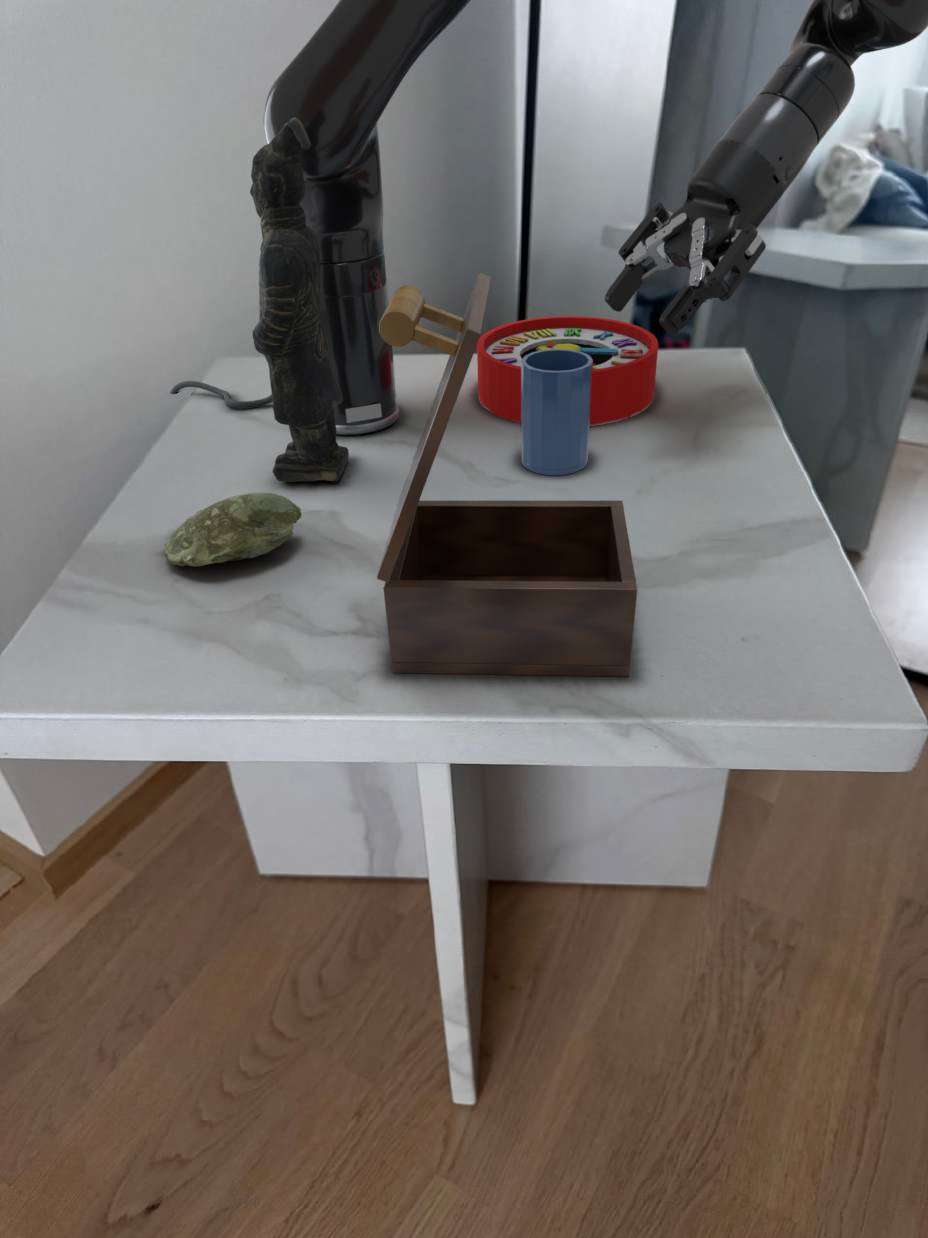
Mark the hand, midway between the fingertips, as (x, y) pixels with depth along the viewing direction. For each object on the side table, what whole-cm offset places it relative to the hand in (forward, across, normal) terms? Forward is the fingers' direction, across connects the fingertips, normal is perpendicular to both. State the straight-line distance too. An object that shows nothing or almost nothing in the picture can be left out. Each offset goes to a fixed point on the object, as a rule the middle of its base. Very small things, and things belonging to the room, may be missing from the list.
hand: (637, 316), depth 80 cm
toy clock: (+8, -15, +10) cm, 20 cm away
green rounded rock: (+38, 0, -20) cm, 42 cm away
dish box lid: (+19, +19, -23) cm, 36 cm away
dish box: (+27, +22, -10) cm, 36 cm away
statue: (+30, -10, -12) cm, 34 cm away
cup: (+15, 0, +3) cm, 15 cm away
